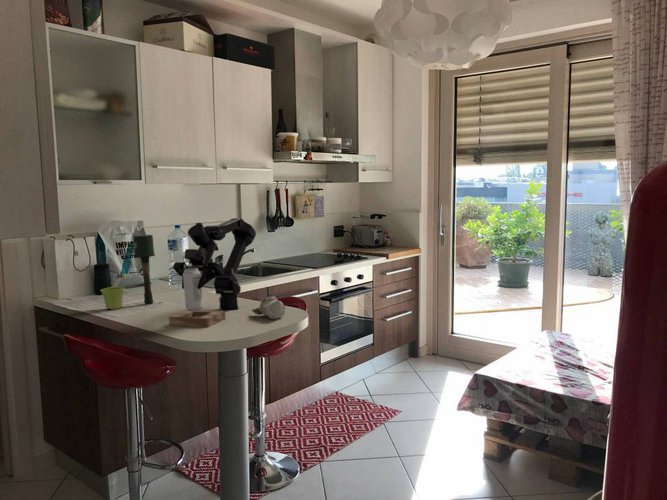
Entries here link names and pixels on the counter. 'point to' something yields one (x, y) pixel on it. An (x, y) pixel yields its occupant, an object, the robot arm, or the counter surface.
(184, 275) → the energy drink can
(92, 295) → the counter surface
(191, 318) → the hole board
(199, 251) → the robot arm
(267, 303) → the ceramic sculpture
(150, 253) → the potato masher grenade
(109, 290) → the plant pot
